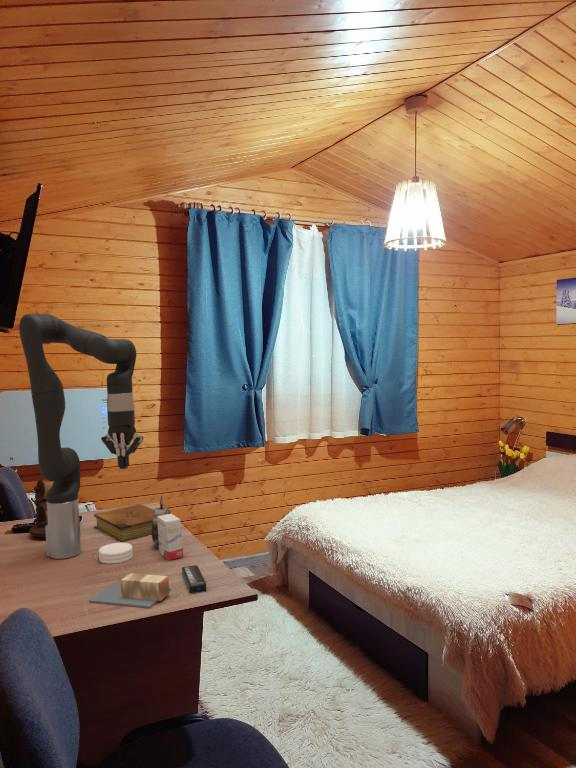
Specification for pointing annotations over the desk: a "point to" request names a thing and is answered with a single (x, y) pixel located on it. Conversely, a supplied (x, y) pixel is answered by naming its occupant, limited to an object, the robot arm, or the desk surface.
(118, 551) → the coaster
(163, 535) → the ink box
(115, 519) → the diary
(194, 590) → the multiport hub
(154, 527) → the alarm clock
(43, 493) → the brown tall piece
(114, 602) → the felt mat
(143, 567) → the desk surface
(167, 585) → the birch block
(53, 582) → the desk surface
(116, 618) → the desk surface
